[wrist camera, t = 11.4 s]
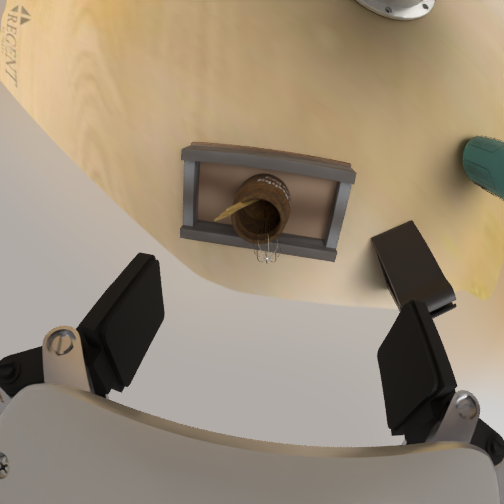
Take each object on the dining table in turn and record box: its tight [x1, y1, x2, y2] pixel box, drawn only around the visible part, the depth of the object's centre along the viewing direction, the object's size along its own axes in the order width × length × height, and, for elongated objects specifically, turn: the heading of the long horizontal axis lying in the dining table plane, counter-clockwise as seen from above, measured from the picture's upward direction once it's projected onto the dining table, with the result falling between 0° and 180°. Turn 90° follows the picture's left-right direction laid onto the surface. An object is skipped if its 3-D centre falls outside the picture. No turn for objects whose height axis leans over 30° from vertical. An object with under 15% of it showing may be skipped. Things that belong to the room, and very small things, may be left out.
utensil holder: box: [214, 174, 291, 264], centre depth 27 cm, size 6×6×12 cm
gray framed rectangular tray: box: [180, 142, 356, 262], centre depth 31 cm, size 11×18×4 cm, turn 84°
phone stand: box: [372, 221, 456, 319], centre depth 29 cm, size 9×6×12 cm, turn 29°
